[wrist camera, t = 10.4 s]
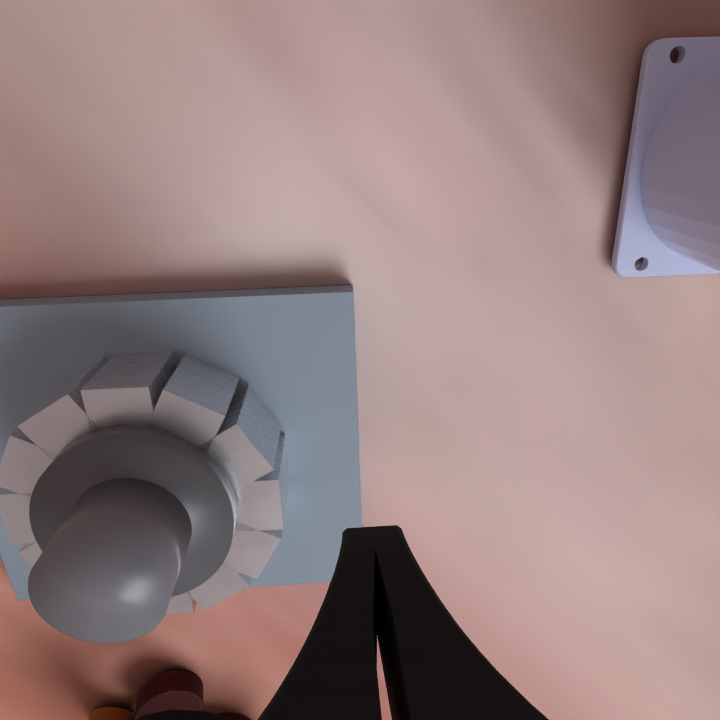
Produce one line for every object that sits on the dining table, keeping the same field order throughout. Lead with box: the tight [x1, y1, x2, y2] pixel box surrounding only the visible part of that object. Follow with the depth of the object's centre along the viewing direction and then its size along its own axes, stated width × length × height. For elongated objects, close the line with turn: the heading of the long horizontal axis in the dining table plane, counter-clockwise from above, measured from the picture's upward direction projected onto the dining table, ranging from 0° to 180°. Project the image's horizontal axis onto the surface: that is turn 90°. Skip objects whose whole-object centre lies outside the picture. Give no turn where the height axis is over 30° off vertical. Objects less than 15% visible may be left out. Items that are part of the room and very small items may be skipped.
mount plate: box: [0, 285, 362, 600], centre depth 23 cm, size 16×14×1 cm
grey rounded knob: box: [28, 426, 237, 643], centre depth 19 cm, size 7×7×7 cm
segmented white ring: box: [0, 350, 290, 614], centre depth 21 cm, size 10×10×3 cm
